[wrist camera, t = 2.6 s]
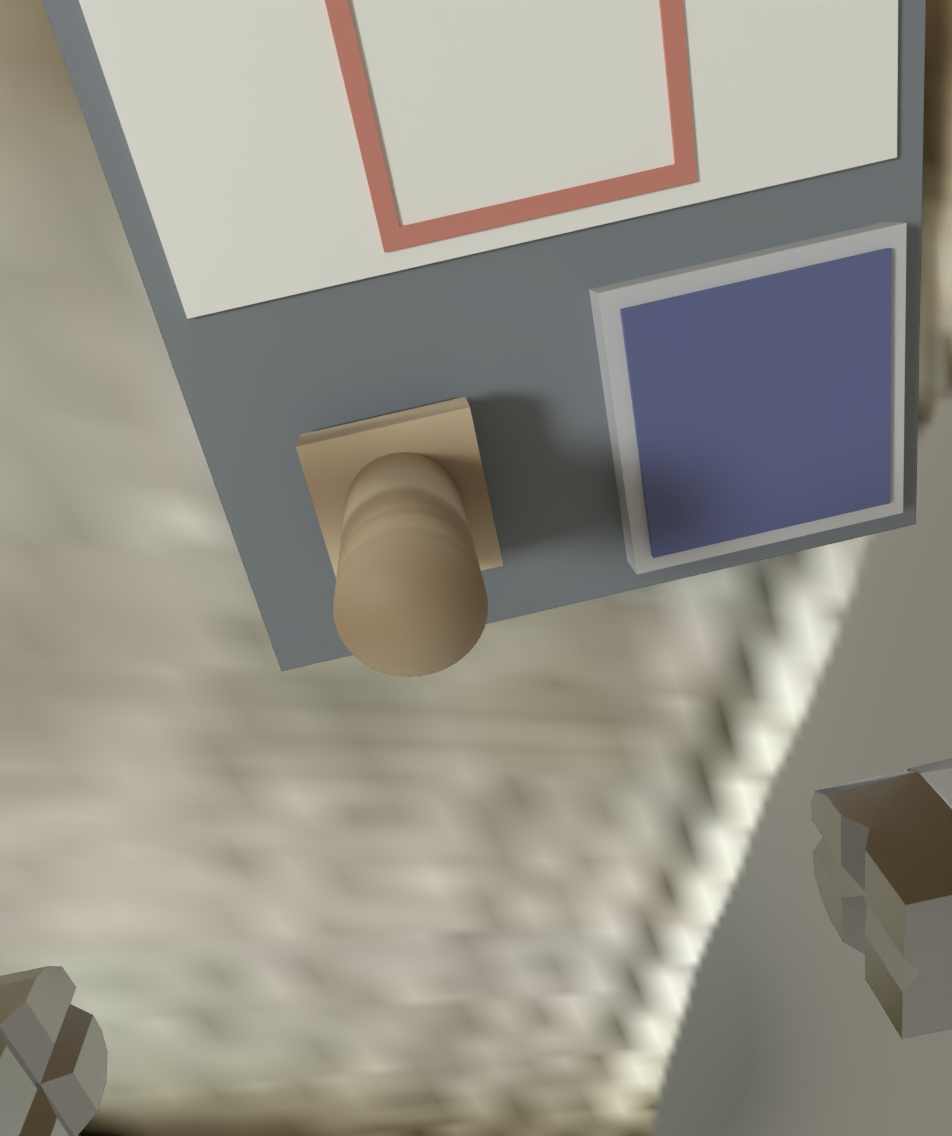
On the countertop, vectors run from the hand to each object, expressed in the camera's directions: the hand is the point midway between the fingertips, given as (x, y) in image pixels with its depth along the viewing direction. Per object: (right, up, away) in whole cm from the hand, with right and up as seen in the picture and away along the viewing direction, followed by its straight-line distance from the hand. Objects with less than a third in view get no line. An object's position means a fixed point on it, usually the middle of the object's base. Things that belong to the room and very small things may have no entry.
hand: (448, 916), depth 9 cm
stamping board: (+2, +12, +14) cm, 18 cm away
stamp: (-2, +6, +14) cm, 16 cm away
